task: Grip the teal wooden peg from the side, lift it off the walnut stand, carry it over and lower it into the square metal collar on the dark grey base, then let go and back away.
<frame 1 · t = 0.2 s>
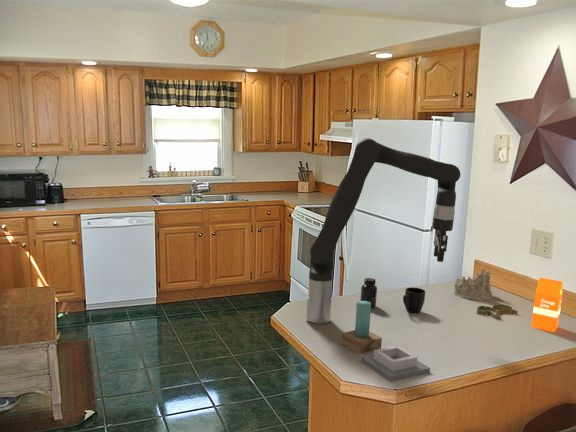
hand: (438, 259, 210), 29 cm above the worktop, tool pointing down, fingers open, 8 cm apart
sand castle: (473, 295, 262), on the worktop
stand: (360, 346, 197), on the worktop
supplement bottle: (367, 306, 240), on the worktop
socket base: (394, 366, 182), on the worktop
orange juice: (544, 327, 224), on the worktop
mug: (410, 313, 234), on the worktop
cookie cutter: (495, 314, 239), on the worktop
peg: (361, 335, 196), point 4 cm above the worktop, touching stand
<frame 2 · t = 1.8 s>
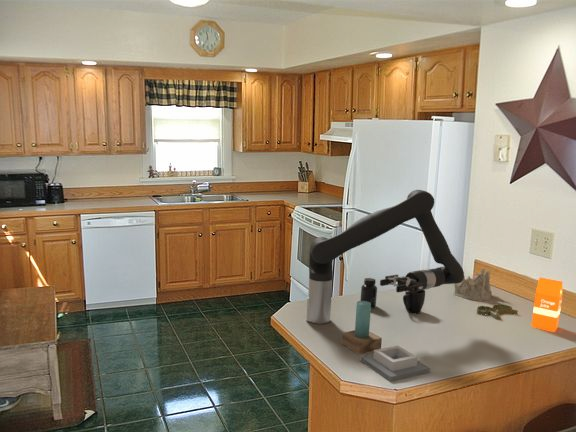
hand: (388, 286, 199), 21 cm above the worktop, tool horizontal, fingers open, 8 cm apart
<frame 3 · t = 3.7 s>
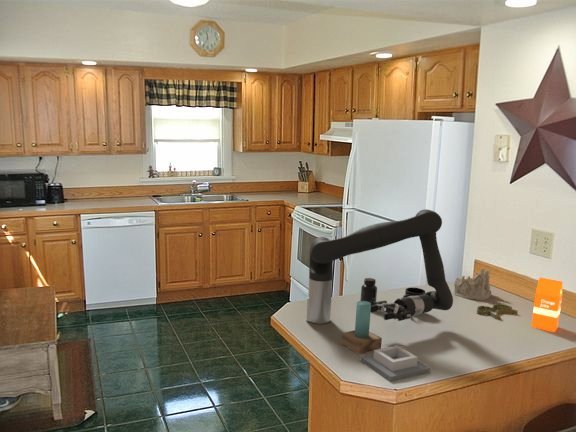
hand: (376, 313, 199), 11 cm above the worktop, tool horizontal, fingers open, 8 cm apart
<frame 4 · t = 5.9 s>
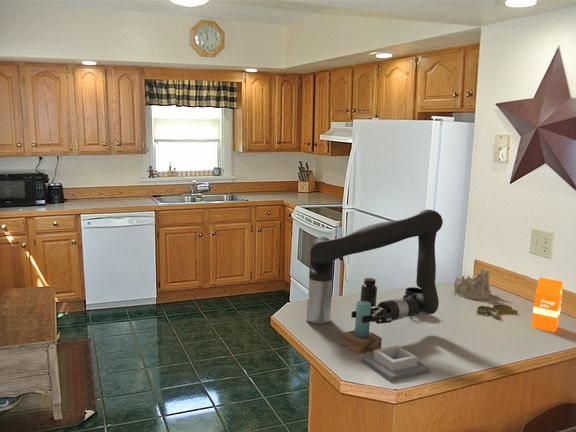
hand: (357, 317, 194), 11 cm above the worktop, tool horizontal, fingers closed on peg, 5 cm apart
peg: (361, 335, 196), point 4 cm above the worktop, touching gripper, stand
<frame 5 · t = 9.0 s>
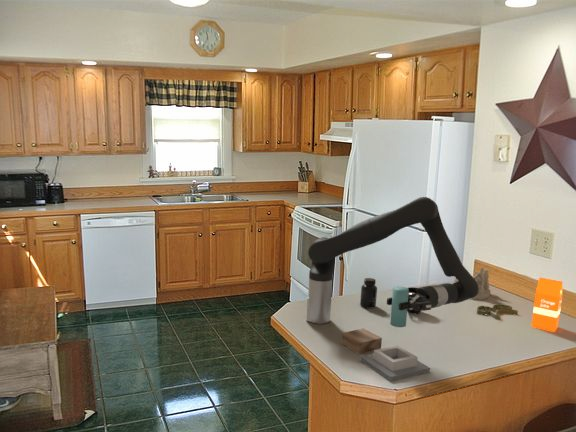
hand: (393, 304, 177), 22 cm above the worktop, tool horizontal, fingers closed on peg, 5 cm apart
peg: (398, 324, 179), point 15 cm above the worktop, touching gripper
when the fingers open (10 cm above the worktop, at t = 12.2 s): peg drops 1 cm, resting on socket base.
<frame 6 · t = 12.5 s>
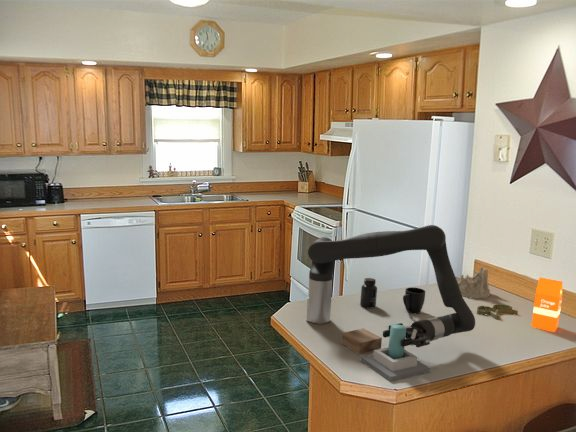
hand: (392, 338, 179), 10 cm above the worktop, tool horizontal, fingers open, 8 cm apart
peg: (394, 361, 182), point 2 cm above the worktop, touching socket base
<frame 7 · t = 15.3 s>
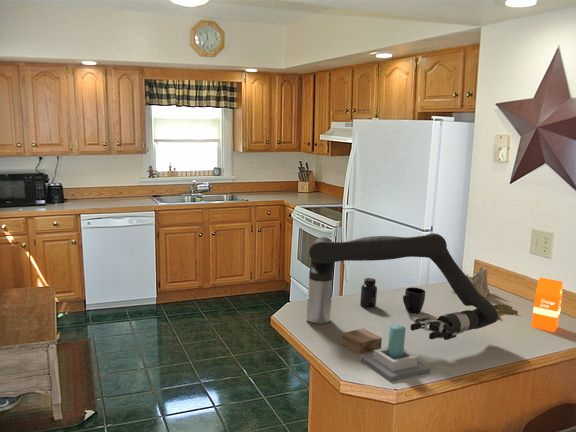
hand: (420, 331, 186), 10 cm above the worktop, tool horizontal, fingers open, 8 cm apart
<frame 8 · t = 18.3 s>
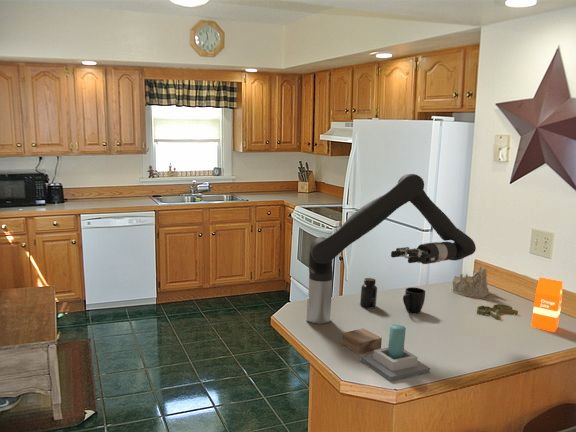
hand: (400, 257, 196), 32 cm above the worktop, tool horizontal, fingers open, 8 cm apart
at the end: peg 0.1 cm off-centre on the socket base, point 1.5 cm above the socket base's base; peg tilted 0°; the gripper is holding nothing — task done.
